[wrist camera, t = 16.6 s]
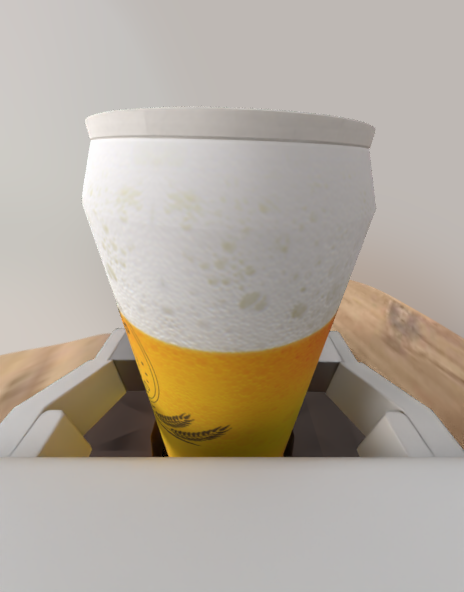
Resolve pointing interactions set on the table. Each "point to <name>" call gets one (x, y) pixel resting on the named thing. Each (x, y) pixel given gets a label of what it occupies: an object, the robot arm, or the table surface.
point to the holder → (149, 443)
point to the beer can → (227, 259)
